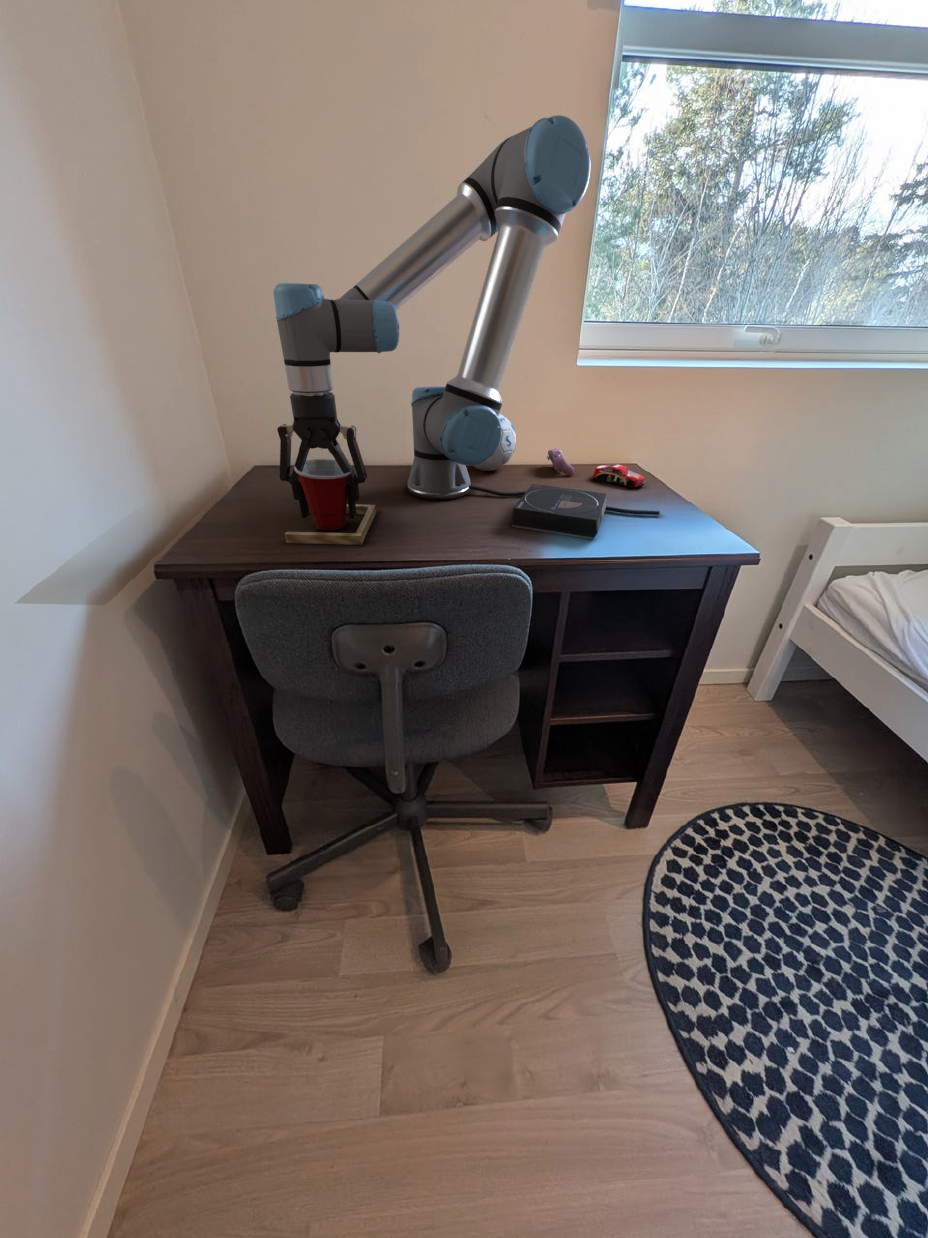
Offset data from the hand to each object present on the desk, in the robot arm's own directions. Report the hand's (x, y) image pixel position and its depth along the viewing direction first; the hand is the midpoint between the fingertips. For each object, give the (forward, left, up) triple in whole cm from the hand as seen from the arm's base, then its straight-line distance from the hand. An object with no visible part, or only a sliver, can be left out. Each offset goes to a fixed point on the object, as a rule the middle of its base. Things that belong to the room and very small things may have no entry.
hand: (329, 515), depth 95 cm
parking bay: (0, 0, -2) cm, 2 cm away
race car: (-67, -33, -3) cm, 74 cm away
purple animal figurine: (-53, -42, -3) cm, 67 cm away
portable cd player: (-48, -7, -3) cm, 48 cm away
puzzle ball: (-33, -42, -3) cm, 53 cm away
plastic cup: (0, 0, -2) cm, 2 cm away
